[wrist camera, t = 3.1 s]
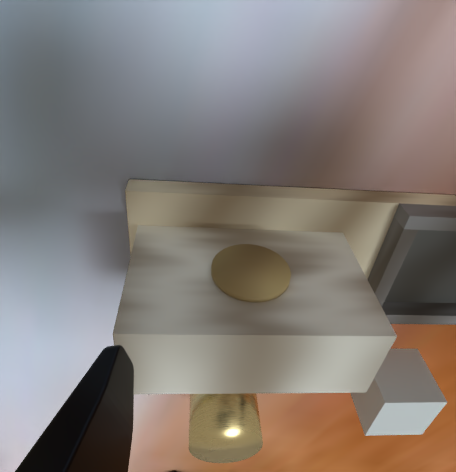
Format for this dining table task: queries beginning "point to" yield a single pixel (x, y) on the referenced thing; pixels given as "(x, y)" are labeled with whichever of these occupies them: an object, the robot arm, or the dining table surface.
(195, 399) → the brass cylinder
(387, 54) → the dining table surface
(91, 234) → the dining table surface
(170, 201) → the mounted unit
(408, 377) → the grey block
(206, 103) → the dining table surface
